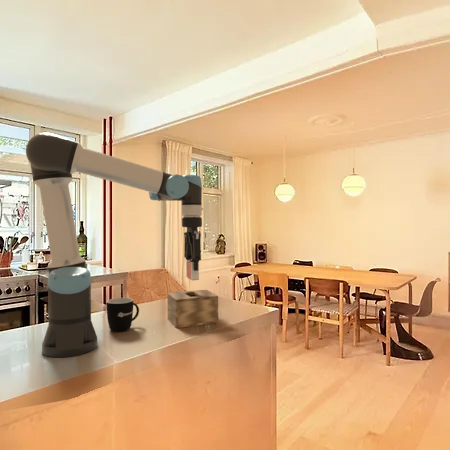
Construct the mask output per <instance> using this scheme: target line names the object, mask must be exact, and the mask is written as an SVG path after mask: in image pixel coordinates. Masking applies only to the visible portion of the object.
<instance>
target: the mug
mask: <svg viewBox="0 0 450 450" xmlns="http://www.w3.org/2000/svg"><path fill="white" fill-rule="evenodd" d="M105 304H106V316H107V317H106V318H107V323H108V327H109V328H108V329H109V330H110V331H111V332H112V333H124V332H127V331H129V330H130V328H131V326H132V322H133V321H135V320H136V319H137V318H138V316H139V315H140V314H139V313H140V308H139V306H138V304H137V303H136V302H134V299H133V298H130V297H116V298H110V299H108V300H106V303H105ZM134 307H135V309H136V312H135V315H134ZM133 315H134V316H133Z"/></svg>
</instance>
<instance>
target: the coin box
mask: <svg viewBox="0 0 450 450" xmlns="http://www.w3.org/2000/svg"><path fill="white" fill-rule="evenodd" d="M166 295H167V296H166V299H167V305H166V306H167V308H166V309H167V311H166V313H167V320H168V321H169V322H170V323H171V324H172V325H173V326H174V328H176V329H177V328H178V329H179V328H187V327H195V326H204V325H203V324H205V325H212V324H211V323H213V324H218V323H219V295H217V294H216V293H213V292H212V291H209V290H208V289H198V290H197V289H196V290H188V291H171V292H167V293H166Z"/></svg>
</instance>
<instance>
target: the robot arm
mask: <svg viewBox="0 0 450 450" xmlns="http://www.w3.org/2000/svg"><path fill="white" fill-rule="evenodd" d="M25 154H26V159H27V161H28V162H29V164H30V172H31V175H32V181H33V182H32V183H33V184H35V185H36V186H37V187H38V188H39V191H40V197H41V198H40V199H41V205H42V209H43V216H44V222H45V227H46V235H47V239H48V247H49V251H50V252H49V253H50V258H51V260H50V262H49V264H48V265H47V273H48V277H47V287H48V288H47V290H48V291H47V295H48V296H47V297H48V299H47V300H48V305H47V307H48V309H47V311H48V326H47V328H46V331H45V335H44V337H43V340H42V343H41V353H42V354H43V355H44V356H46V357H51V358H70V357H74V356H79V355H84V354H86V353H89V352H91V351H93V350H94V349H96V348H97V347H98V335H97V333H96V330H95V328H94V327H95V326H94V324H93V322H92V276H91V271H90V270H89V269H88V268H87V262H86V259H85V258H83V257H82V256H81V254H80V248H79V243H78V235H77V231H76V230H77V229H76V224H75V223H76V222H75V219H74V211H73V206H72V198H71V193H70V187H69V185H70V183H71V181H73V174H75V173H80V174H84V175H88V176H90V177H94V178H98V179H101V180H105V181H109V182H112V183H115V184H120V185H123V186H128V187H131V188H135V189H138V190H141V191H146V192H148V197H149V199H150V200H152V201H158V202H160V201H167V202H169V201H175V202H176V201H178V202H179V201H181V216H182V218H181V227H182V228H186V232H184V233H183V236H184V239H183V240H184V241H183V242H184V247H183V248H184V249H183V251H184V252H183V255H184V256H183V257H184V258H185V267H186V268H185V273H186V275H185V276H186V278H188V270H187V262H191V281H197V280H196V279H200V261H202V253H201V252H202V251H201V247H202V245H201V238H202V237H201V235H202V234H201V233H199V230H198V228H201V227H202V226H203V218H202V217H201V216H202V215H203V213H202V212H203V210H204V208H203V207H202V206H203V205H202V200H203V199H202V189H203V185H202V178H201V176H200V175H195V174H185V175H181V174H177V173H176V174H174V173H173V174H171V173H167V172H164V171H161V170H157V169H154V168H152V167H148V166H145V165H141V164H140V163H139V164H138V163H135V162H132V161H129V160H125V159H121V158H119V157H115V156H112V155H109V154H106V153H102V152H99V151H96V150H93V149H90V148H86V147H83V146H82V144H81V143H80V142H78V141H75V140H72V139H69V138H67V137H63V136H60V135H58V134H54V133H51V132H42V133H41V132H40V133H37V134H35V135H33V136H32V137H30V139H29V140H28V142H27V144H26V147H25Z"/></svg>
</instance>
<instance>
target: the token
mask: <svg viewBox="0 0 450 450" xmlns="http://www.w3.org/2000/svg"><path fill="white" fill-rule="evenodd" d="M187 270H188V277H187V279H189V280H191V262H187ZM199 279H200V278H199ZM199 279H196V280H195V281H199ZM191 281H192V280H191Z"/></svg>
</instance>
